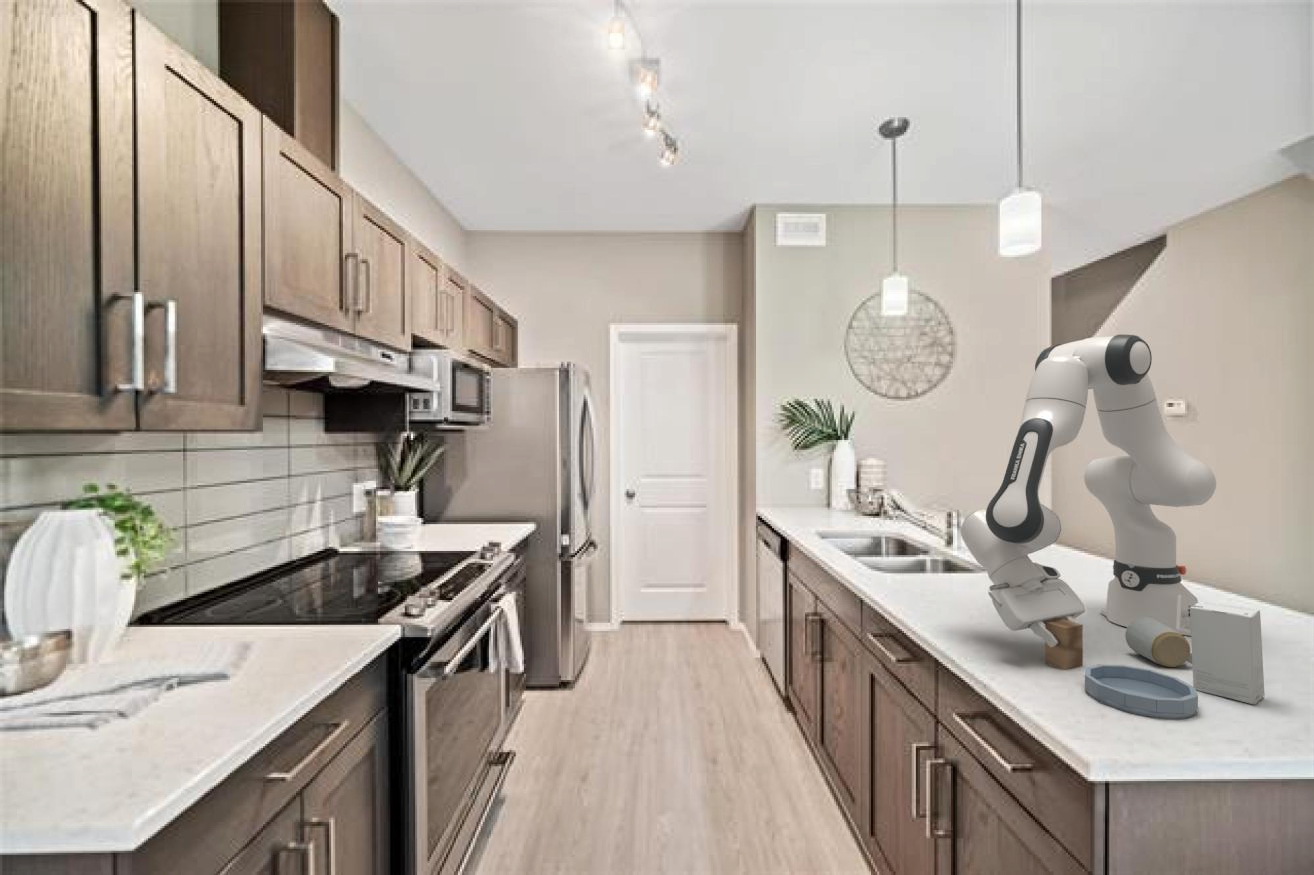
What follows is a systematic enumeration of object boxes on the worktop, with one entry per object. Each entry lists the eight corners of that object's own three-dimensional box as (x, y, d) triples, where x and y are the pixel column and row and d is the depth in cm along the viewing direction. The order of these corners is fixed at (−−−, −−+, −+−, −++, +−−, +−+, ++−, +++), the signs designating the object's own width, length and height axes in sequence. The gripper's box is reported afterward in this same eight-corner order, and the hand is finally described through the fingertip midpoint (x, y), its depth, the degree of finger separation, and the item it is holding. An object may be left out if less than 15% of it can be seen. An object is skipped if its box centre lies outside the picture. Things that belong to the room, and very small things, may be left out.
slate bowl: (1117, 675, 114) (1117, 659, 114) (1216, 708, 101) (1216, 689, 100) (1065, 689, 108) (1065, 672, 108) (1163, 726, 94) (1163, 707, 94)
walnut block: (1061, 659, 122) (1061, 618, 122) (1082, 666, 119) (1082, 624, 119) (1045, 663, 120) (1045, 622, 120) (1066, 670, 117) (1066, 628, 117)
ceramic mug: (1152, 668, 117) (1153, 628, 117) (1123, 653, 125) (1124, 615, 125) (1212, 671, 116) (1213, 630, 116) (1179, 655, 125) (1180, 617, 124)
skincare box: (1264, 697, 104) (1265, 610, 104) (1253, 706, 101) (1254, 616, 101) (1200, 681, 111) (1201, 599, 111) (1188, 689, 108) (1189, 604, 108)
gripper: (994, 577, 121) (1043, 642, 113) (1061, 567, 130) (1111, 627, 121) (974, 594, 126) (1019, 658, 117) (1040, 584, 134) (1087, 643, 125)
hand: (1067, 642), depth 119 cm, fingers closed on walnut block, 5 cm apart
